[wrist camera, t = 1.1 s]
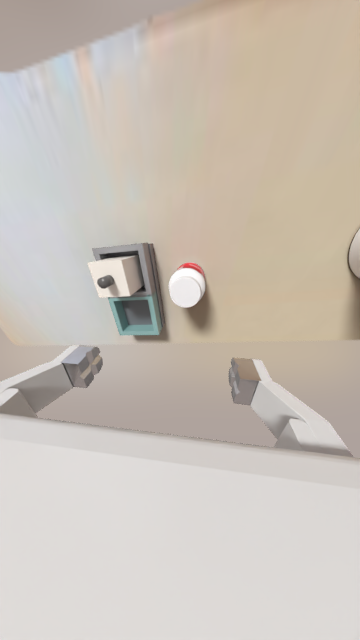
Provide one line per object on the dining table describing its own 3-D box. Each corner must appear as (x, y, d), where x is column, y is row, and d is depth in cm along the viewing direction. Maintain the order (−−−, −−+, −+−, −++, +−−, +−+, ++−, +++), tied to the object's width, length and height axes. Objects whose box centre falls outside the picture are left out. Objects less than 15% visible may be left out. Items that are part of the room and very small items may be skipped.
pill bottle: (210, 279, 32) (214, 297, 23) (187, 296, 35) (182, 319, 25) (192, 254, 31) (188, 262, 21) (169, 274, 33) (156, 289, 23)
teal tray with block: (152, 242, 30) (126, 244, 20) (164, 323, 39) (151, 355, 28) (105, 247, 32) (58, 251, 21) (127, 324, 40) (101, 355, 30)
